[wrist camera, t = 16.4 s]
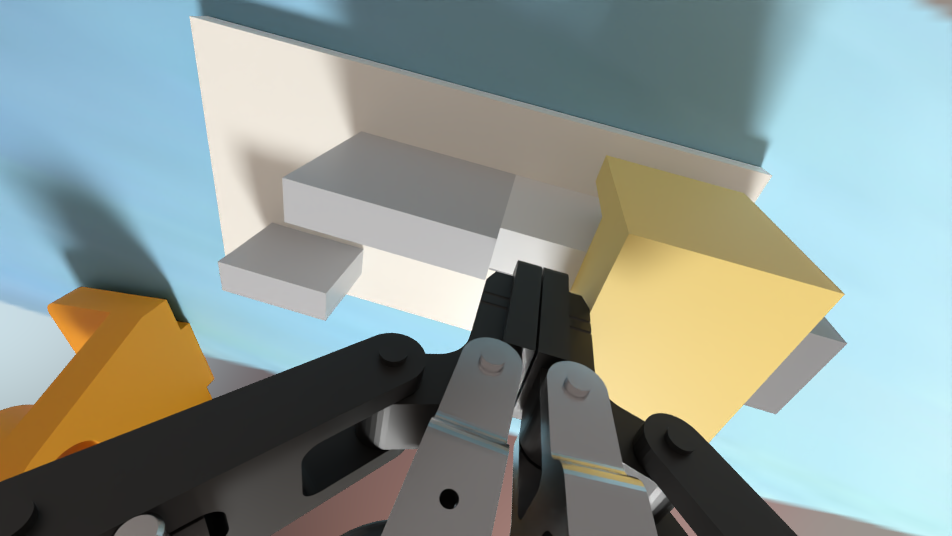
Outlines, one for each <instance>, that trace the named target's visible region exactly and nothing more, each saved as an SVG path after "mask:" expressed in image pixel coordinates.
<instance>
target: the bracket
mask: <svg viewBox="0 0 952 536" xmlns="http://www.w3.org/2000/svg"><path fill="white" fill-rule="evenodd" d="M48 312H49V314H50V315H51V317H52V318H53V319H54V321H55V323H56V324H57V326H58V327H59V329H60V330H61V332H62V333H63V334H64V336H65V337H66V339H67V341H68V342H69V344H70V345H71V347H72V348H73V350H74V351H75V353H76V355H75V356H74V357H73V359H72V360H71V361H70V362H69V363H68V365H67V366H66V367H65V368H64V369H63V371H62V372H61V373H60V374H59V376H58V377H57V378H56V379H55V380H54V382H53V383H52V384H51V385H50V386H49V387H48V389H47V390H46V391H45V392H44V393H43V395H42V396H41V397H40V398H39V400H38V401H37V402H36V403H35V404H34V405H20V406H14V407H10V408H6V409H3V410H1V411H0V482H1V481H3V480H6V479H8V478H11V477H14V476H16V475H19V474H21V473H24V472H26V471H29V470H32V469H34V468H37V467H39V466H42V465H44V464H47V463H50V462H52V461H55V460H57V459H60V458H62V457H65V456H68V455H70V454H73V453H75V452H78V451H80V450H83V449H86V448H88V447H91V446H93V445H96V444H98V443H101V442H104V441H106V440H109V439H111V438H114V437H116V436H119V435H122V434H124V433H127V432H129V431H132V430H134V429H137V428H140V427H142V426H145V425H147V424H150V423H152V422H155V421H158V420H160V419H163V418H165V417H168V416H170V415H173V414H176V413H178V412H181V411H183V410H186V409H188V408H191V407H194V406H196V405H199V404H201V403H204V402H206V401H209V400H212V397H211V395H210V393H209V391H208V389H207V386H208V385H209V384H210V383H211V382H212V381H213V380H214V376H213V374H212V372H211V369H210V367H209V365H208V363H207V360H206V358H205V356H204V355H203V353H202V351H201V349H200V346H199V344H198V342H197V339H196V337H195V335H194V333H193V330H192V328H191V326H190V323H186V322H180V321H176V319H175V317H174V315H173V313H172V310H171V308H170V306H169V304H168V302H167V300H166V299H159V298H153V297H146V296H140V295H133V294H127V293H120V292H114V291H107V290H101V289H94V288H88V287H79V288H77V289H75V290H74V291H72V292H70V293H68V294H66V295H65V296H63V297H61V298H59V299H58V300H56V301H54V302H52V303H51V304H49V305H48Z"/></svg>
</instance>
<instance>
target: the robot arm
mask: <svg viewBox="0 0 952 536" xmlns="http://www.w3.org/2000/svg"><path fill="white" fill-rule="evenodd" d="M590 322H591V320H590V309H589V307H588V305H587V304H586V302H585V301H584V299H583V297H582V296H581V295H578V294H574V293H571V292H569V275H568V274H566V273H563V272H559V271H556V270H552V269H549V268H545V267H543V269H542V267H541V266H538V265H534V264H531V263H527V262H524V261H520V260H518V261H517V263H516V266H515V269H514V272H513V275H512V276H511V275H508V274H504V273H501V272H497V271H496V272H495V273H493V274H492V275H491V276H490V277H488V278H487V279H486V282H485V286H484V289H483V293H482V296H481V300H480V303H479V306H478V310H477V313H476V317H475V320H474V324H473V327H472V331H471V334H470V337H469V340H468V342H467V343H466V344H465V345H464V346H463V347H462V348H460V349H459V350H457V351H455V352H451V353H447V354H425V352H424V350H423V348H422V347H421V345H420V344H419V343H418V342H417V341H415V340H414V339H412V338H410V337H408V336H405V335H402V334H398V333H385V334H380V335H376V336H374V337H371V338H369V339H366V340H363V341H361V342H358V343H356V344H353V345H350V346H348V347H345V348H343V349H340V350H338V351H335V352H332V353H330V354H327V355H325V356H322V357H320V358H317V359H314V360H312V361H309V362H307V363H304V364H302V365H299V366H296V367H294V368H291V369H289V370H286V371H284V372H281V373H278V374H276V375H273V376H271V377H268V378H266V379H263V380H260V381H258V382H255V383H253V384H250V385H248V386H245V387H242V388H240V389H237V390H235V391H232V392H230V393H227V394H225V395H222V396H219V397H217V398H214V399H212V400H209V401H206V402H204V403H201V404H199V405H196V406H194V407H191V408H188V409H186V410H183V411H181V412H178V413H176V414H173V415H170V416H168V417H165V418H163V419H160V420H158V421H155V422H152V423H150V424H147V425H145V426H142V427H140V428H137V429H134V430H132V431H129V432H127V433H124V434H122V435H119V436H116V437H114V438H111V439H109V440H106V441H104V442H101V443H98V444H96V445H93V446H91V447H88V448H86V449H83V450H80V451H78V452H75V453H73V454H70V455H68V456H65V457H62V458H60V459H57V460H55V461H52V462H50V463H47V464H44V465H42V466H39V467H37V468H34V469H32V470H29V471H26V472H24V473H21V474H19V475H16V476H14V477H11V478H8V479H6V480H3V481H1V482H0V536H271V535H272V534H274V533H275V532H277V531H279V530H280V529H282V528H283V527H285V526H287V525H288V524H290V523H291V522H293V521H295V520H296V519H298V518H299V517H301V516H303V515H304V514H305V513H307V512H309V511H311V510H312V509H314V508H315V507H317V506H319V505H320V504H322V503H323V502H325V501H327V500H328V499H330V498H331V497H333V496H335V495H336V494H338V493H339V492H341V491H343V490H344V489H346V488H348V487H349V486H350V485H352V484H354V483H355V482H357V481H359V480H360V479H362V478H363V477H365V476H367V475H368V474H370V473H371V472H373V471H375V470H376V469H378V468H380V467H381V466H383V465H384V464H386V463H388V462H389V461H391V460H392V459H394V458H396V457H397V456H398V455H400V454H401V453H402V452H403V451H404V450H405V449H418V450H417V452H416V455H415V457H414V459H413V462H412V464H411V466H410V469H409V471H408V473H407V476H406V478H405V480H404V483H403V485H402V488H401V490H400V492H399V495H398V497H397V499H396V502H395V504H394V506H393V509H392V511H391V513H390V516H389V518H388V520H382V521H376V522H372V523H369V524H366V525H362V526H360V527H357V528H355V529H353V530H350V531H348V532H346V533H345V534H343V535H341V536H491V534H492V530H493V525H494V521H495V516H496V511H497V506H498V501H499V497H500V492H501V487H502V483H503V478H504V473H505V468H506V464H507V459H508V453H509V445H508V444H507V438H508V433H509V429H510V424H511V420H512V417H514V418H517V419H520V420H521V428H520V433H519V435H518V437H517V439H516V442H515V444H514V452H513V483H512V484H513V485H512V514H511V515H512V516H511V529H510V536H688V535H687V533H686V532H685V531H684V530H683V528H682V527H681V526H680V524H679V523H678V522H677V521H676V519H675V518H674V517H673V515H672V514H671V513H670V511H671V510H672V509H673V508H674V507H675V508H676V509H677V511H678V512H679V513H680V514H681V516H682V517H683V518H684V519H685V521H686V522H687V523H688V524H689V526H690V527H691V528H692V529H693V531H694V532H695V533H696V534H697V536H797V535H796V534H795V532H794V531H793V530H791V528H790V527H789V526H788V525H787V524H786V523H785V522H784V521H783V520H782V519H781V518H780V517H779V516H778V515H777V514H776V513H775V512H774V511H773V510H772V509H771V508H770V507H769V505H768V504H767V503H766V502H765V501H764V500H763V499H762V498H761V497H760V496H759V495H758V494H757V493H756V492H755V491H754V490H753V489H752V488H751V487H750V486H749V485H748V484H747V483H746V481H745V480H744V479H743V478H742V477H741V476H740V475H739V474H738V473H737V472H736V471H735V470H734V469H733V468H732V467H731V466H730V465H729V464H728V463H727V462H726V461H725V460H724V459H723V458H722V456H721V455H720V454H719V453H718V452H717V451H716V450H715V449H714V448H713V447H712V446H711V445H710V444H709V443H708V442H707V441H706V440H705V439H704V438H703V437H702V436H701V435H700V434H699V433H698V432H697V431H696V430H695V429H694V428H693V427H692V426H691V425H689V424H688V423H687V422H685V421H683V420H682V419H680V418H678V417H675V416H673V415H670V414H666V413H656V414H652V415H651V416H649V417H648V418H647V419H646V420H645V421H644V420H642V419H640V418H638V417H637V416H635V415H633V414H631V413H630V412H628V411H626V410H624V409H623V408H621V407H619V406H618V405H617V404H615V403H614V402H613V401H611V400H610V399H609V395H608V391H607V388H606V386H605V384H604V382H603V381H602V379H601V378H600V377H599V376H598V375H597V374H596V373H595V366H594V355H593V343H592V335H591V324H590Z"/></svg>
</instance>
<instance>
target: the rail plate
mask: <svg viewBox="0 0 952 536" xmlns="http://www.w3.org/2000/svg"><path fill="white" fill-rule="evenodd" d="M190 22H191V29H192V36H193V42H194V49H195V56H196V62H197V69H198V76H199V83H200V89H201V96H202V103H203V109H204V116H205V123H206V129H207V136H208V143H209V150H210V156H211V163H212V170H213V176H214V183H215V190H216V196H217V203H218V210H219V217H220V223H221V230H222V237H223V243H224V250H225V257H224V258H222V259H221V260H220V261H218V265H219V271H220V278H221V284H222V290H224V291H227V292H231V293H234V294H237V295H241V296H244V297H248V298H251V299H254V300H258V301H261V302H264V303H268V304H271V305H274V306H278V307H281V308H285V309H288V310H291V311H295V312H298V313H301V314H305V315H308V316H311V317H315V318H318V319H322V320H325V321H326V319H327V318H328V317H329V316H330V314H331V313H332V312H333V310H334V309H335V308H336V307H337V305H338V304H339V303H340V301H341V300H342V299H343V297H344V296H345V295H346V294H347V295H351V296H354V297H358V298H361V299H364V300H368V301H371V302H375V303H378V304H381V305H385V306H388V307H392V308H395V309H398V310H402V311H405V312H409V313H412V314H415V315H419V316H422V317H425V318H429V319H432V320H436V321H439V322H442V323H446V324H449V325H453V326H456V327H459V328H463V329H466V330H470V331H472V327H473V324H474V320H475V317H476V313H477V310H478V306H479V303H480V300H481V296H482V293H483V289H484V286H485V282H486V279H487V278H488V277H490V276H491V275H492V274H493V273H495V272H496V271H497V272H501V273H504V274H508V275H511V276H512V275H513V272H514V269H515V266H516V263H517V261H518V260H520V261H524V262H527V263H531V264H534V265H538V266H541V267H542V269H543V267H545V268H549V269H552V270H556V271H559V272H563V273H566V274H568V275H569V291H570V290H571V288H572V285H573V283H574V281H575V278H576V276H577V274H578V272H579V269H580V267H581V265H582V262H583V260H584V258H585V256H586V253H587V251H588V249H589V246H590V244H591V242H592V240H593V237H594V235H595V233H596V230H597V228H598V226H599V223H600V221H601V219H602V213H601V207H600V202H599V197H598V191H597V186H596V179H597V176H598V174H599V171H600V169H601V166H602V164H603V162H604V159H605V157H606V155H608V156H611V157H615V158H619V159H622V160H626V161H630V162H633V163H637V164H640V165H644V166H648V167H651V168H655V169H659V170H662V171H666V172H669V173H673V174H677V175H680V176H684V177H688V178H691V179H695V180H698V181H702V182H706V183H709V184H713V185H717V186H720V187H724V188H728V189H731V190H735V191H738V192H742V193H745V194H746V195H747V196H748V197H749V198H750V199H751V200H752V201H753V202H754V203H755V201H756V200H757V198H758V197H759V195H760V194H761V192H762V190H763V189H764V187H765V186H766V184H767V183H768V181H769V180H770V178H771V177H772V175H771V174H769V173H768V172H767V171H765V170H764V169H763V168H761V167H758V166H754V165H751V164H747V163H743V162H740V161H736V160H732V159H729V158H725V157H721V156H718V155H714V154H710V153H707V152H703V151H699V150H696V149H692V148H688V147H685V146H681V145H677V144H674V143H670V142H666V141H663V140H659V139H655V138H652V137H648V136H644V135H641V134H637V133H634V132H630V131H626V130H623V129H619V128H615V127H612V126H608V125H604V124H601V123H597V122H593V121H590V120H586V119H582V118H579V117H575V116H571V115H568V114H564V113H560V112H557V111H553V110H549V109H546V108H542V107H538V106H535V105H531V104H527V103H524V102H520V101H516V100H513V99H509V98H506V97H502V96H498V95H495V94H491V93H487V92H484V91H480V90H476V89H473V88H469V87H465V86H462V85H458V84H454V83H451V82H447V81H443V80H440V79H436V78H432V77H429V76H425V75H421V74H418V73H414V72H410V71H407V70H403V69H399V68H396V67H392V66H388V65H385V64H381V63H378V62H374V61H370V60H367V59H363V58H359V57H356V56H352V55H348V54H345V53H341V52H337V51H334V50H330V49H326V48H323V47H319V46H315V45H312V44H308V43H304V42H301V41H297V40H293V39H290V38H286V37H282V36H279V35H275V34H271V33H268V32H264V31H260V30H257V29H253V28H250V27H246V26H242V25H239V24H235V23H231V22H228V21H224V20H220V19H217V18H213V17H209V16H190ZM846 344H847V343H846V342H845V340H844V339H843V338H842V337H841V336H840V335H839V333H838V332H837V331H836V330H835V329H834V328H833V326H832V325H831V324H830V323H829V322H828V321H827V319H826V318H825V317H823V319H822V320H821V321H820V322H819V323H818V324H817V325H816V326H815V327H814V328H813V329H812V331H811V332H810V333H809V334H808V335H807V336H806V337H805V338H804V339H803V340H802V341H801V343H800V344H799V345H798V346H797V347H796V348H795V349H794V350H793V351H792V352H791V353H790V355H789V356H788V357H787V358H786V359H785V360H784V361H783V362H782V363H781V364H780V365H779V367H778V368H777V369H776V370H775V371H774V372H773V373H772V374H771V375H770V376H769V377H768V379H767V380H766V381H765V382H764V383H763V384H762V385H761V386H760V387H759V388H758V389H757V391H756V392H755V393H754V394H753V395H752V396H751V397H750V398H749V399H748V400H747V401H746V403H745V404H744V405H747V406H750V407H753V408H757V409H760V410H764V411H767V412H770V413H774V414H777V413H778V412H779V411H780V410H781V409H782V408H783V407H784V406H785V405H786V404H787V403H788V402H789V401H790V400H791V399H792V398H793V397H794V396H795V395H796V394H797V393H798V392H799V391H800V390H801V389H802V388H803V387H804V386H805V385H806V384H807V383H808V382H809V381H810V380H811V379H812V378H813V377H814V376H815V375H816V374H817V373H818V372H819V371H820V370H821V369H822V368H823V367H824V366H825V365H826V364H827V363H828V362H829V361H830V360H831V359H832V358H833V357H834V356H835V355H836V354H837V353H838V352H839V351H840V350H841V349H842V348H843V347H844V346H845V345H846Z"/></svg>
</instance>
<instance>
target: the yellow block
mask: <svg viewBox="0 0 952 536" xmlns="http://www.w3.org/2000/svg"><path fill="white" fill-rule="evenodd" d="M596 186H597V191H598V197H599V202H600V207H601V213H602V219H601V221H600V223H599V226H598V228H597V230H596V233H595V235H594V237H593V240H592V242H591V244H590V246H589V249H588V251H587V253H586V256H585V258H584V260H583V262H582V265H581V267H580V269H579V272H578V274H577V276H576V278H575V281H574V283H573V285H572V288H571V290H570V291H569V292H571V293H574V294H578V295H581V296H582V297H583V299H584V301H585V302H586V304H587V305H588V307H589V309H590V320H591V322H590V324H591V335H592V343H593V355H594V366H595V373H596V374H597V375H598V376H599V377H600V378H601V379H602V381H603V382H604V384H605V386H606V388H607V391H608V395H609V399H610V400H611V401H613V402H614V403H615V404H617V405H618V406H619V407H621V408H623V409H624V410H626V411H628V412H630V413H631V414H633V415H635V416H637V417H638V418H640V419H642V420H644V421H645V420H646V419H647V418H648V417H649V416H651V415H652V414H656V413H666V414H670V415H673V416H675V417H678V418H680V419H682V420H683V421H685V422H687V423H688V424H689V425H691V426H692V427H693V428H694V429H695V430H696V431H697V432H698V433H699V434H700V435H701V436H702V437H703V438H704V439H705V440H706V441H707V442H708V443H709V442H710V441H711V440H712V438H713V437H714V436H715V435H716V434H717V433H718V432H719V431H720V430H721V429H722V428H723V426H724V425H725V424H726V423H727V422H728V421H729V420H730V419H731V418H732V417H733V416H734V414H735V413H736V412H737V411H738V410H739V409H740V408H741V407H742V406H743V405H744V404H745V403H746V401H747V400H748V399H749V398H750V397H751V396H752V395H753V394H754V393H755V392H756V391H757V389H758V388H759V387H760V386H761V385H762V384H763V383H764V382H765V381H766V380H767V379H768V377H769V376H770V375H771V374H772V373H773V372H774V371H775V370H776V369H777V368H778V367H779V365H780V364H781V363H782V362H783V361H784V360H785V359H786V358H787V357H788V356H789V355H790V353H791V352H792V351H793V350H794V349H795V348H796V347H797V346H798V345H799V344H800V343H801V341H802V340H803V339H804V338H805V337H806V336H807V335H808V334H809V333H810V332H811V331H812V329H813V328H814V327H815V326H816V325H817V324H818V323H819V322H820V321H821V320H822V319H823V317H824V316H825V315H826V314H827V313H828V312H829V311H830V310H831V309H832V308H833V307H834V305H835V304H836V303H837V302H838V301H839V300H840V299H841V298H842V297H843V296H844V295H845V294H844V293H843V292H842V291H841V290H840V289H839V288H838V287H837V286H836V285H835V284H834V283H833V282H832V281H831V280H830V279H829V278H828V277H827V276H826V275H825V274H824V273H823V272H822V271H821V270H820V269H819V268H818V267H817V266H816V265H815V264H814V263H813V262H812V261H811V260H810V259H809V258H808V257H807V256H806V255H805V254H804V253H803V252H802V251H801V250H800V249H799V248H798V247H797V246H796V245H795V244H794V243H793V242H792V241H791V240H790V239H789V238H788V237H787V236H786V235H785V234H784V233H783V232H782V231H781V230H780V229H779V228H778V227H777V226H776V225H775V224H774V223H773V222H772V221H771V220H770V219H769V218H768V217H767V216H766V215H765V214H764V213H763V212H762V211H761V210H760V209H759V208H758V207H757V206H756V205H755V203H754V202H753V201H752V200H751V199H750V198H749V197H748V196H747V195H746V194H745V193H742V192H738V191H735V190H731V189H728V188H724V187H720V186H717V185H713V184H709V183H706V182H702V181H698V180H695V179H691V178H688V177H684V176H680V175H677V174H673V173H669V172H666V171H662V170H659V169H655V168H651V167H648V166H644V165H640V164H637V163H633V162H630V161H626V160H622V159H619V158H615V157H611V156H608V155H606V157H605V159H604V162H603V164H602V166H601V169H600V171H599V174H598V176H597V179H596Z"/></svg>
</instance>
